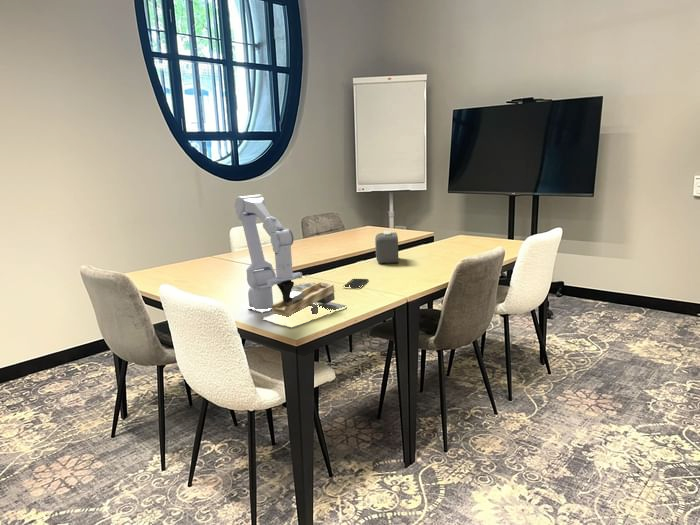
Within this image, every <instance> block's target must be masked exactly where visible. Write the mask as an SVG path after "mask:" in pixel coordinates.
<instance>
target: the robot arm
mask: <svg viewBox="0 0 700 525" xmlns="http://www.w3.org/2000/svg"><path fill="white" fill-rule="evenodd" d="M265 201H266V200H265V198H264V196H263V195H262V194H260V193H258V194H252V195H243V196H240V195H239V196H238V195H237V197H236V199H235V201H234V202H235V203H234V208H235V212H236V215H237V220H240V221H241V223H242V228H243V232H244V236H245V241H246V246H247V248H248V252H249V253H248V254H249V257H250V261H251V263H250V264H249V266H248V267H247V269H246V281H247V285H248V286H249V289H248V292H247V293H248V294H247V296H248V306H250V307H254V308H255V309H268V308H272V306H271V305H273V304H274V299H273V298H274V296H273V287H274V286H275V285H276V286H277V287H278V289H279V290H280V292H281V295H282V300H283V301H284V302H290V292H291V289H292V287H293V286H295V282H294V281H293V280H297V279H302V278H303V273H302V272H299V271H298V272H294V271H293V260H292V259H293V258H292V257H293V256H292V246H293V244H294V240H295V239H294V234H293V232H292V230H291V229H289V228H287V227H284V226H283V225H282V224H281V223H280V220H278V219H277V217H275V216H271V213H269V211H268V209H267V207H266V202H265ZM257 219H259V220H261V222H262V228H263V229H264V230H265V232H266V234H268V236H269V237H270V238H269V239H270V240H269V241H270V243H271V246H272V251H273V253H274V260H275V270H274V268H273V265H272V263H270V262H269V261H267V260H265V255H264V253H263V252H264V251H263V247H262V244H261V239H260V236H259V230H258V226H257V222H256V220H257Z"/></svg>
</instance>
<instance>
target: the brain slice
mask: <svg viewBox="0 0 700 525" xmlns="http://www.w3.org/2000/svg"><path fill="white" fill-rule="evenodd" d="M316 283H317V282H303V283H297V284H295V285H293V287H292V289H291V292H292V291H297V292H299V291H302V290H304V289H306V288H308V287H310V286H312V285H314V284H316ZM320 283H321V284H322V285H327V286H329V285H331V283H325V282H320Z"/></svg>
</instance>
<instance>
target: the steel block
mask: <svg viewBox="0 0 700 525" xmlns="http://www.w3.org/2000/svg"><path fill="white" fill-rule="evenodd" d="M302 299H303V293H301V292H297V291H292V292H290V302H284V304H285V306H290V305H292V304H294V303H296V302H298V301H300V300H302Z"/></svg>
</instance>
